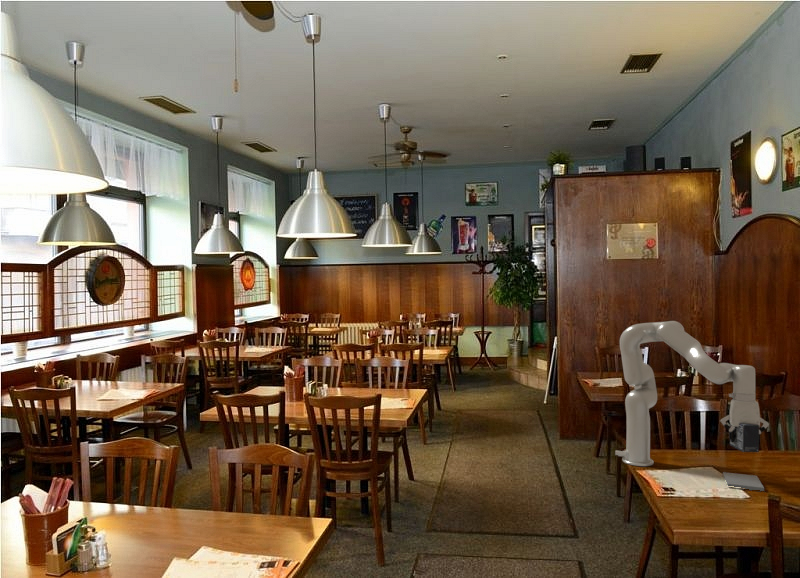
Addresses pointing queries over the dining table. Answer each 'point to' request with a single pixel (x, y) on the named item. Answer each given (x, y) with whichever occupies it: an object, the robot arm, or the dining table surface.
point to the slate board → (743, 481)
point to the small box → (746, 437)
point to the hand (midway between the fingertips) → (744, 442)
